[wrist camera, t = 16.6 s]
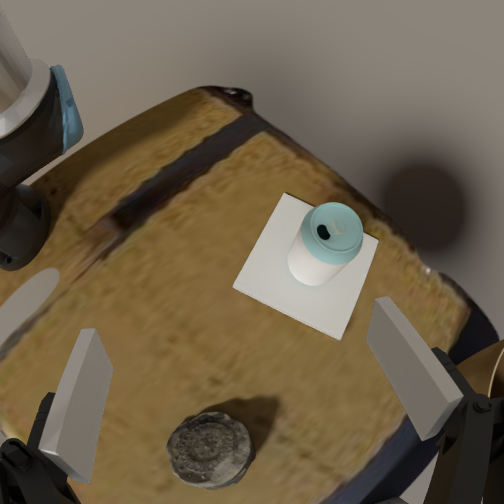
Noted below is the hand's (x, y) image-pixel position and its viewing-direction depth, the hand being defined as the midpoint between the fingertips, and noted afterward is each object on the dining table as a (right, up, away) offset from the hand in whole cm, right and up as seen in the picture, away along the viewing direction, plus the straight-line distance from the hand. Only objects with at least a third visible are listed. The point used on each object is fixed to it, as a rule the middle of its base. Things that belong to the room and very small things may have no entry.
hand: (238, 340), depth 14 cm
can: (+9, +3, +29) cm, 30 cm away
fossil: (-4, -21, +21) cm, 30 cm away
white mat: (+9, +2, +29) cm, 31 cm away
